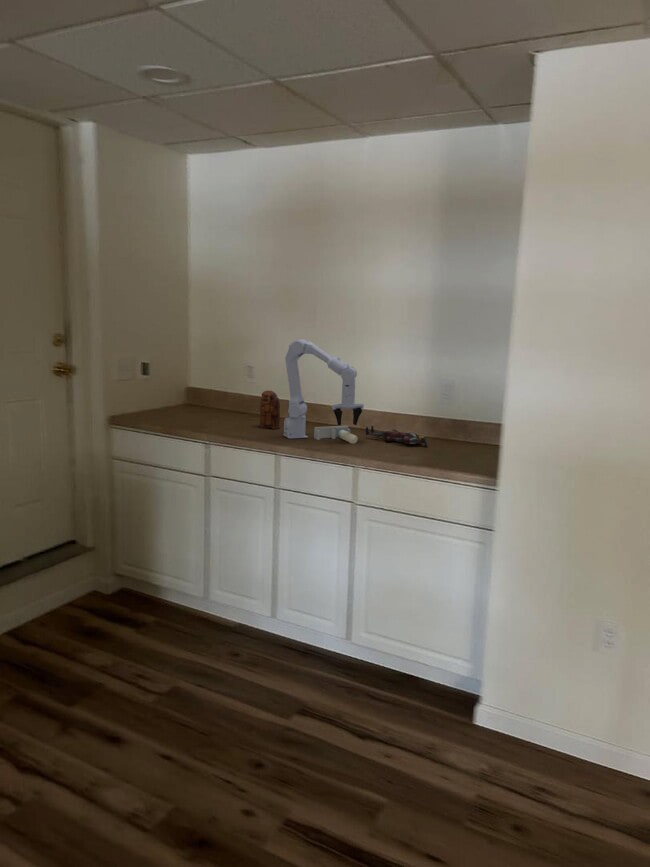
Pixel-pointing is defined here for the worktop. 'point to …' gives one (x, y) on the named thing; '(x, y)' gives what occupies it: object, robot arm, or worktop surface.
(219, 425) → the worktop surface
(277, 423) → the wooden figurine
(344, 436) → the tall cream cylinder
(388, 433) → the figurine
